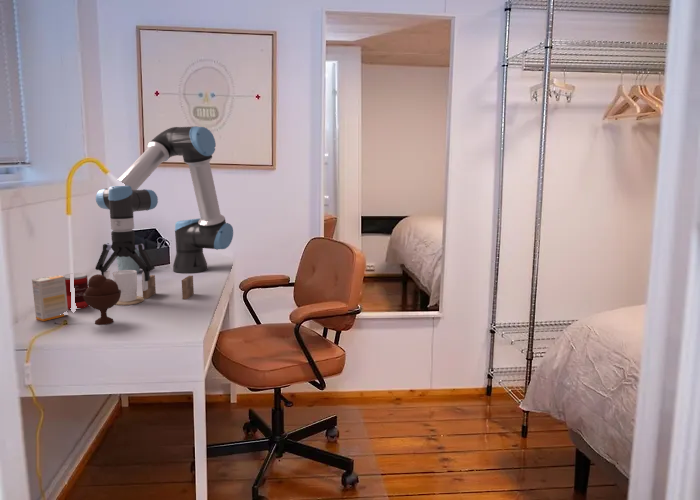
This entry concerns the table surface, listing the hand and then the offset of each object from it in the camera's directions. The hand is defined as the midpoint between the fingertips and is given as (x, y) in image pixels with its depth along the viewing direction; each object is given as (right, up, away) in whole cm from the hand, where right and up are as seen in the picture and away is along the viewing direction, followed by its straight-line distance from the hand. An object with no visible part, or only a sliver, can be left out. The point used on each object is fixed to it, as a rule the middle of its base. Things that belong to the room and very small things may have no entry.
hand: (126, 289), depth 195 cm
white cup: (0, -4, +1) cm, 4 cm away
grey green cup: (-19, +4, +49) cm, 53 cm away
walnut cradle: (+12, -3, +8) cm, 15 cm away
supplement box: (-16, -8, -19) cm, 26 cm away
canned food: (-14, -6, -7) cm, 17 cm away
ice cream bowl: (+3, -9, -24) cm, 26 cm away
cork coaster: (0, -4, +1) cm, 4 cm away
